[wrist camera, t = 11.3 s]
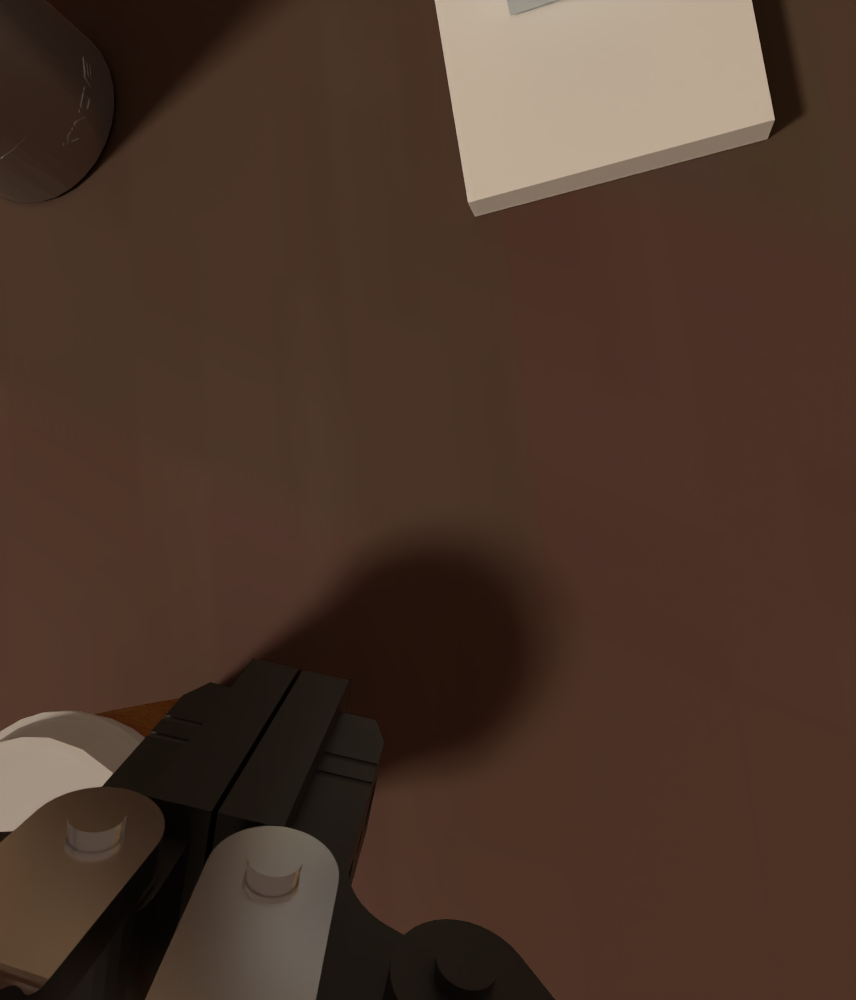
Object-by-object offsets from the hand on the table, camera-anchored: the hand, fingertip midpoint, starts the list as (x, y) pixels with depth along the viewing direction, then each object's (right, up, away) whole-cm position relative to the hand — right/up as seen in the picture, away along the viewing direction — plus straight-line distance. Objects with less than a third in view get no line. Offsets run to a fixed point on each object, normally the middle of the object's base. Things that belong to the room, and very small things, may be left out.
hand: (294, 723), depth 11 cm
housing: (+8, +28, +21) cm, 35 cm away
